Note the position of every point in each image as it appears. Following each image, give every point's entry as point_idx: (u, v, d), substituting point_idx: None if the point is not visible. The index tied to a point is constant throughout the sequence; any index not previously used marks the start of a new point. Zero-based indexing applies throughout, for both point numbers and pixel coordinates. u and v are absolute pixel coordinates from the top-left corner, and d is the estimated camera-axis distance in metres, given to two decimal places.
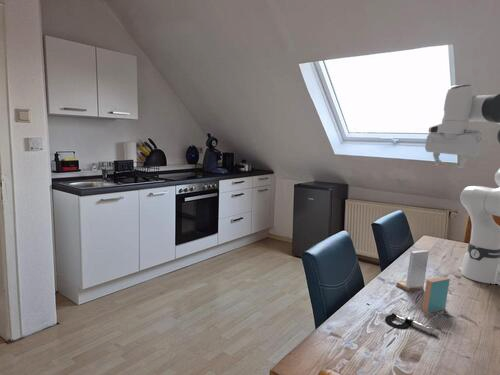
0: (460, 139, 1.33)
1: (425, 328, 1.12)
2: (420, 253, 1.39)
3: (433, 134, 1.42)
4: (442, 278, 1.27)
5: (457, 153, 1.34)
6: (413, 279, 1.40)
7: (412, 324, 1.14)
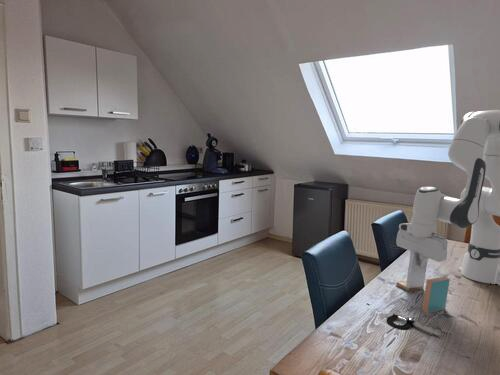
0: (428, 242, 1.35)
1: (427, 328, 1.12)
2: None
3: (403, 231, 1.44)
4: (442, 278, 1.27)
5: (425, 255, 1.36)
6: (413, 279, 1.40)
7: (414, 325, 1.14)
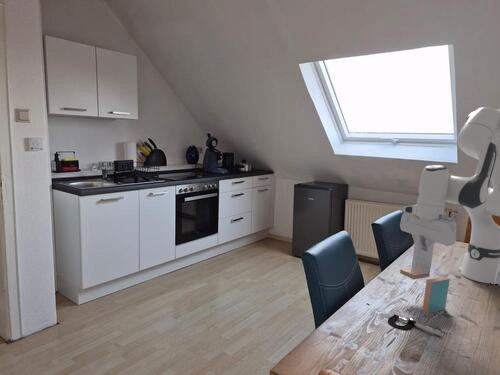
0: (435, 225, 1.24)
1: (428, 328, 1.12)
2: None
3: (408, 214, 1.33)
4: (442, 278, 1.27)
5: (432, 239, 1.25)
6: (418, 265, 1.29)
7: (415, 325, 1.14)
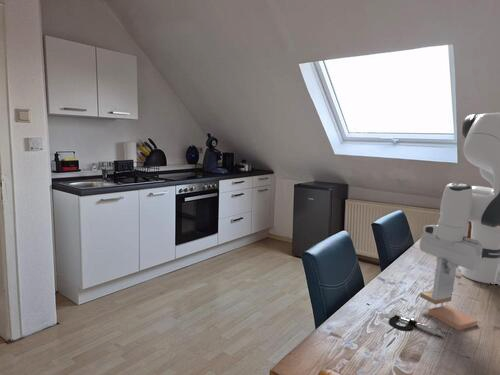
0: (458, 247, 1.17)
1: (429, 328, 1.11)
2: None
3: (428, 234, 1.26)
4: (473, 323, 1.17)
5: (455, 262, 1.18)
6: (440, 289, 1.22)
7: (416, 325, 1.14)
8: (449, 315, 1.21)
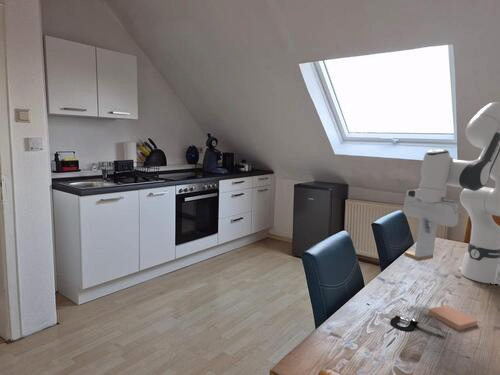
0: (437, 207, 1.28)
1: (431, 329, 1.11)
2: None
3: (411, 198, 1.37)
4: (473, 323, 1.17)
5: (435, 221, 1.30)
6: (422, 247, 1.34)
7: (418, 326, 1.14)
8: (449, 315, 1.21)
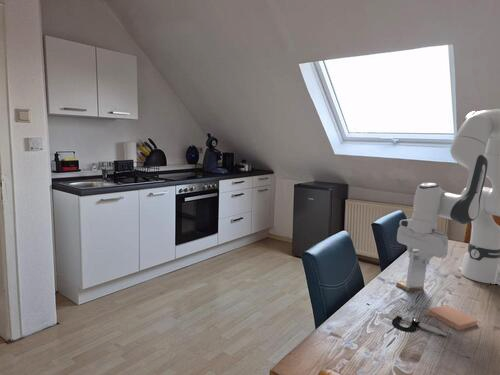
0: (428, 238, 1.35)
1: (433, 329, 1.12)
2: (420, 253, 1.39)
3: (404, 227, 1.44)
4: (473, 323, 1.17)
5: (426, 251, 1.36)
6: (413, 279, 1.40)
7: (419, 326, 1.14)
8: (449, 315, 1.21)
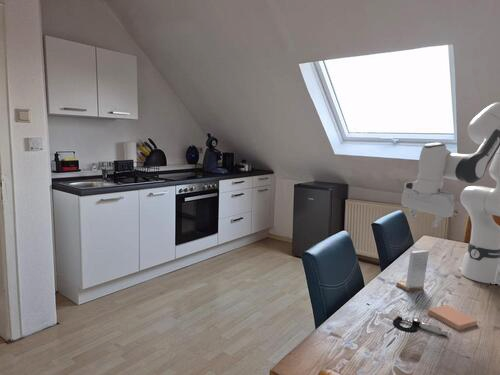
0: (434, 199, 1.32)
1: (434, 328, 1.12)
2: (420, 253, 1.39)
3: (408, 190, 1.41)
4: (473, 323, 1.17)
5: (431, 212, 1.33)
6: (413, 279, 1.40)
7: (420, 326, 1.14)
8: (449, 314, 1.21)
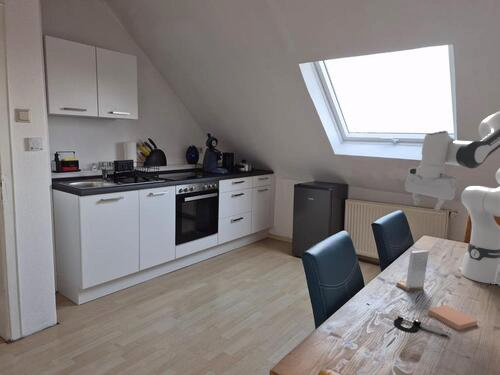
0: (436, 183, 1.40)
1: (435, 329, 1.12)
2: (420, 253, 1.39)
3: (412, 175, 1.49)
4: (472, 323, 1.17)
5: (434, 196, 1.42)
6: (413, 279, 1.40)
7: (421, 326, 1.14)
8: (449, 314, 1.21)
